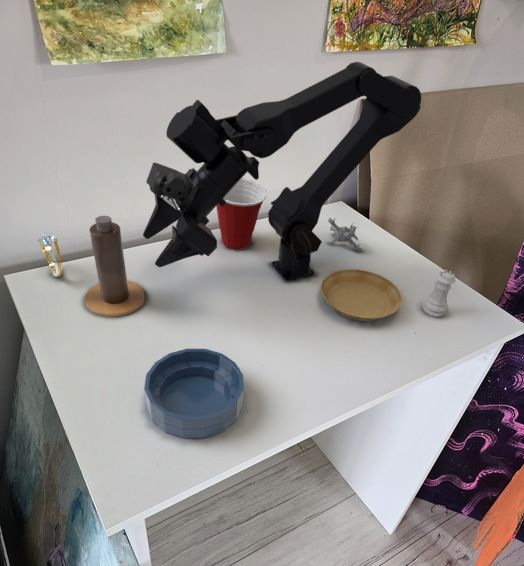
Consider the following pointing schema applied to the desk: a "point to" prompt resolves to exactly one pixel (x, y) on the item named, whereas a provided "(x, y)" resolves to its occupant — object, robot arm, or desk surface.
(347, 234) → the gray branched figurine
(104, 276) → the bottle
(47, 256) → the ring
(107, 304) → the cork coaster
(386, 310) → the plant saucer
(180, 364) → the bowl
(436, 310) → the rook chess piece
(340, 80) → the robot arm
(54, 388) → the desk surface
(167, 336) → the desk surface
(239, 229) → the plastic cup
